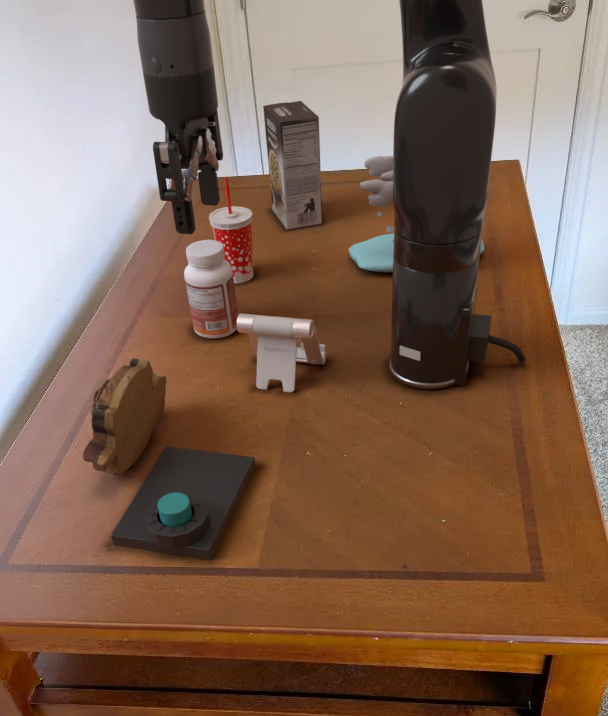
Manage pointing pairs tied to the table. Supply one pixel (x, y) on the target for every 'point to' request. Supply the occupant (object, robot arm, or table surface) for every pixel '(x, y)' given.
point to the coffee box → (294, 163)
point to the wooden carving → (125, 416)
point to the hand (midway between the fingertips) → (199, 218)
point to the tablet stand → (281, 347)
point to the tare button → (174, 509)
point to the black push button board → (207, 499)
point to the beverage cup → (235, 237)
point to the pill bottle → (210, 290)
